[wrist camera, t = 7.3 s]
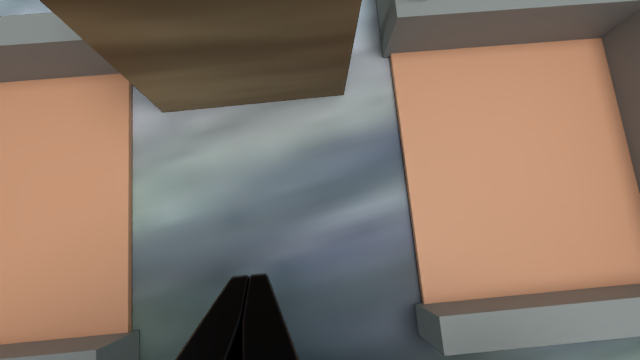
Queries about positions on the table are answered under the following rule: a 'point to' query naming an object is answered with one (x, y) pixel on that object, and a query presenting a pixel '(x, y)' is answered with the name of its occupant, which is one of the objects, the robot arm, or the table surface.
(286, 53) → the walnut block
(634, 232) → the trap lane
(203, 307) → the table surface
